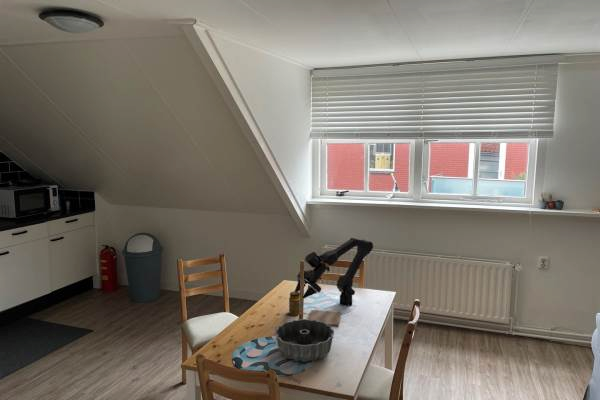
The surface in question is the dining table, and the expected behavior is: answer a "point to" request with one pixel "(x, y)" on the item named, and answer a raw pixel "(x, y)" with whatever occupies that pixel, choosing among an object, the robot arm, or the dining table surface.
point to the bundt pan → (304, 339)
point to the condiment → (293, 305)
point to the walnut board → (326, 317)
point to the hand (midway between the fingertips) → (298, 295)
